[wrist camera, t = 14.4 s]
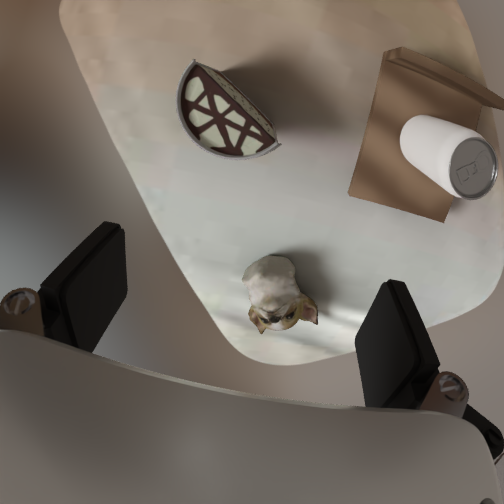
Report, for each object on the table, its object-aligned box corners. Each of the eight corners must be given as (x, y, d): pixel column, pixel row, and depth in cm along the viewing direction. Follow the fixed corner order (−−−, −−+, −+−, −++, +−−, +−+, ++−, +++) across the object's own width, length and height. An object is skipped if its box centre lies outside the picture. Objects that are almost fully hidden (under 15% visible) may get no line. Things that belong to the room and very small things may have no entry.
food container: (178, 98, 35) (146, 103, 27) (212, 63, 33) (188, 57, 24) (245, 164, 39) (234, 189, 30) (282, 132, 36) (281, 148, 28)
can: (452, 151, 31) (508, 184, 20) (413, 176, 33) (459, 217, 23) (431, 105, 29) (488, 120, 18) (388, 130, 31) (433, 153, 21)
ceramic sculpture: (303, 273, 36) (324, 351, 43) (300, 234, 43) (320, 310, 51) (217, 290, 38) (254, 362, 46) (228, 251, 46) (258, 321, 53)
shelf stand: (377, 53, 30) (402, 46, 22) (468, 93, 30) (506, 101, 22) (343, 185, 39) (358, 212, 31) (432, 210, 39) (460, 240, 31)
